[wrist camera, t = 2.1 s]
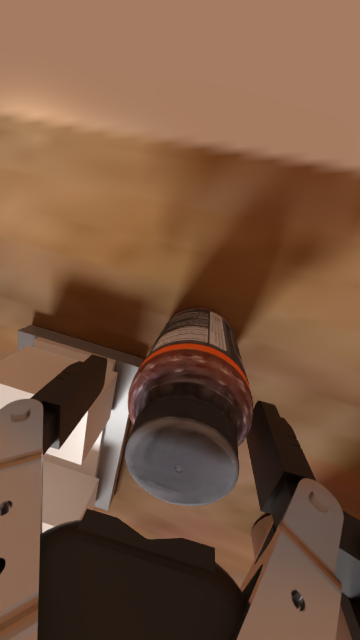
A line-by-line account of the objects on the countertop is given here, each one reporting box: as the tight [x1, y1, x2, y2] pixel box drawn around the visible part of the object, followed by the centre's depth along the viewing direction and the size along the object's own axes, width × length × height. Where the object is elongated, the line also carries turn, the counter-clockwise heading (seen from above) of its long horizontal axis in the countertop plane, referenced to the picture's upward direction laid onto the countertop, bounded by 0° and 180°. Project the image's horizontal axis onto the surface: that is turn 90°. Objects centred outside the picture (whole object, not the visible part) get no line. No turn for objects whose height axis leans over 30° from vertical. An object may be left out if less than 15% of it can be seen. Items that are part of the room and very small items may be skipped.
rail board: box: [0, 325, 144, 533], centre depth 20 cm, size 20×11×6 cm, turn 166°
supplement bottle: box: [125, 307, 253, 506], centre depth 12 cm, size 6×6×11 cm
